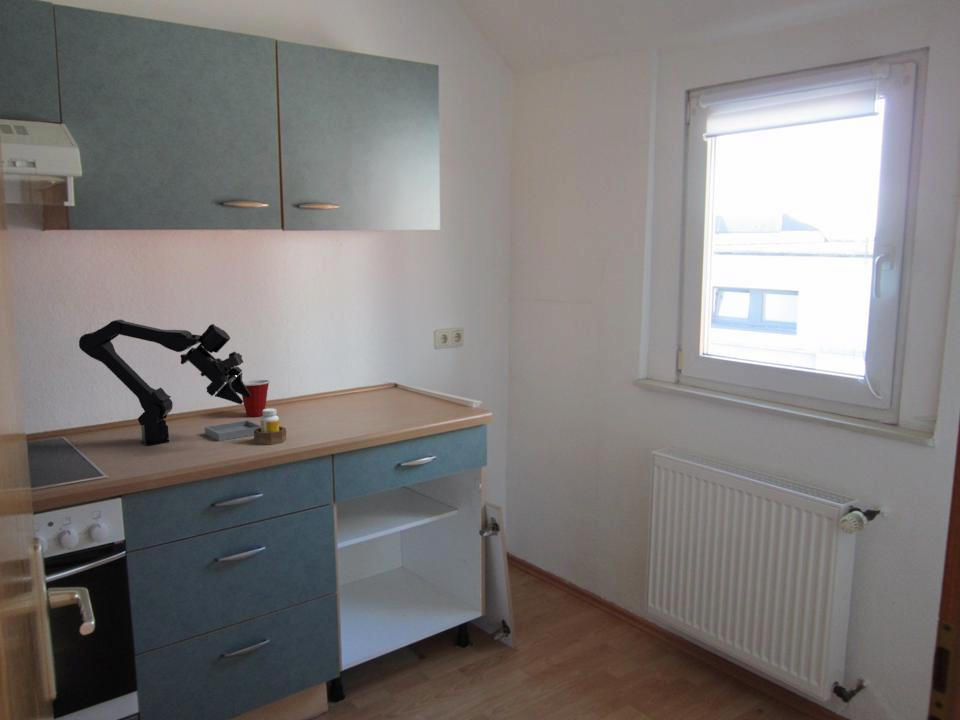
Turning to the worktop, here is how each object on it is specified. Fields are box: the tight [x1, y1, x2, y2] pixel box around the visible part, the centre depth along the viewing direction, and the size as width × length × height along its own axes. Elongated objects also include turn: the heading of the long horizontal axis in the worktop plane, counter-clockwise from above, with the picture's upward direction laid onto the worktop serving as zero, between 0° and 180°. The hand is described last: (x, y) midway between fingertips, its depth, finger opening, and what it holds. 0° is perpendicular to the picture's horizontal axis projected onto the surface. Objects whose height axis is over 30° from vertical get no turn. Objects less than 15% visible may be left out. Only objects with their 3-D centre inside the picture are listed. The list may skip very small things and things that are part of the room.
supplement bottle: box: [259, 408, 280, 432], centre depth 229 cm, size 5×5×10 cm
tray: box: [204, 419, 261, 442], centre depth 238 cm, size 14×11×2 cm
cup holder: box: [253, 425, 287, 446], centre depth 230 cm, size 9×9×4 cm
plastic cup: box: [241, 379, 270, 418], centre depth 262 cm, size 11×11×12 cm
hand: (246, 399), depth 228 cm, fingers open, 9 cm apart
